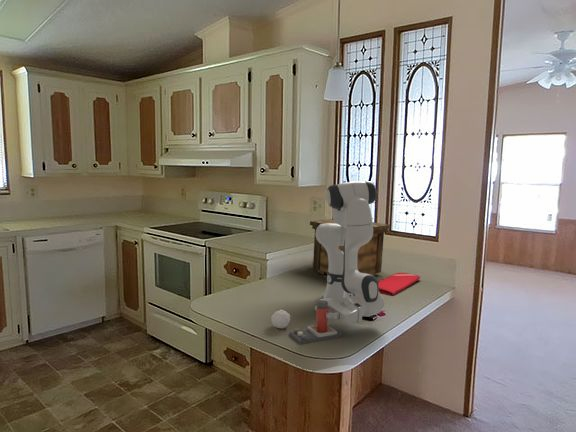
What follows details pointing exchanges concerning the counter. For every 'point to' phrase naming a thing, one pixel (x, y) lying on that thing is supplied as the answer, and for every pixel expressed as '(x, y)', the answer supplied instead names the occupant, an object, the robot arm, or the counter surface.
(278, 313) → the white swirled ball
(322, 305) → the red cylinder with cap
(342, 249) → the crate
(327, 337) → the control panel
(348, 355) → the counter surface
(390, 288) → the red flat block
